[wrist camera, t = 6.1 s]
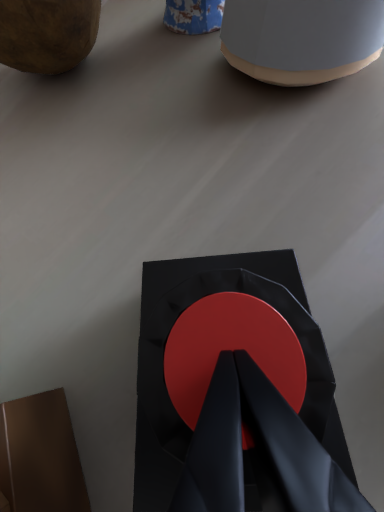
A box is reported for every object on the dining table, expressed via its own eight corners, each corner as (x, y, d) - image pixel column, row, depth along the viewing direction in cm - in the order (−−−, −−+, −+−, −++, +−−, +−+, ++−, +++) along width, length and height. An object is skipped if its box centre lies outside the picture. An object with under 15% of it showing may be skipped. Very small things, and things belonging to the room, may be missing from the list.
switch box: (313, 454, 12) (404, 554, 6) (159, 458, 13) (112, 552, 7) (273, 273, 17) (306, 232, 11) (160, 283, 17) (131, 249, 11)
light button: (301, 425, 8) (326, 448, 6) (174, 429, 9) (163, 452, 7) (274, 297, 10) (287, 286, 8) (172, 305, 11) (163, 296, 9)
